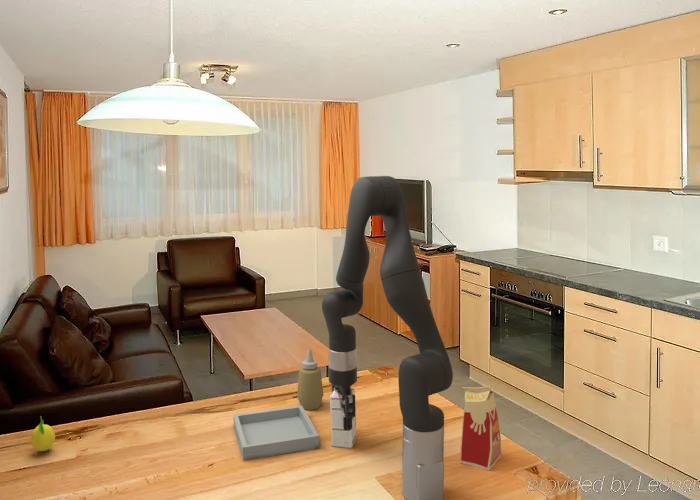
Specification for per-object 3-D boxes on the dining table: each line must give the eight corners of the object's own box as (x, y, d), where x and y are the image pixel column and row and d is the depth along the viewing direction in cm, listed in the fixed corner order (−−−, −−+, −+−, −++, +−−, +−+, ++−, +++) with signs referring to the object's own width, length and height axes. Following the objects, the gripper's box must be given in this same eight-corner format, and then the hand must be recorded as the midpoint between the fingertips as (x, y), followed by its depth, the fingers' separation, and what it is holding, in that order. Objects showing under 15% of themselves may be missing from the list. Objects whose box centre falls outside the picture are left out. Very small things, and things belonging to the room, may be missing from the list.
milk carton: (501, 455, 154) (504, 381, 151) (490, 471, 147) (492, 394, 143) (467, 446, 159) (469, 374, 156) (454, 462, 151) (456, 386, 148)
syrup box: (352, 448, 159) (351, 396, 156) (330, 446, 160) (329, 394, 157) (356, 438, 164) (356, 387, 162) (335, 436, 165) (334, 386, 163)
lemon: (46, 459, 155) (42, 422, 153) (26, 457, 155) (22, 421, 154) (63, 446, 161) (59, 411, 159) (43, 444, 162) (39, 410, 160)
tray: (319, 448, 159) (319, 435, 158) (243, 460, 153) (242, 447, 152) (302, 416, 178) (301, 405, 177) (233, 426, 172) (233, 414, 171)
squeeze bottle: (293, 410, 182) (291, 353, 179) (303, 399, 189) (301, 344, 186) (318, 413, 180) (317, 355, 176) (327, 402, 187) (326, 347, 184)
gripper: (365, 372, 153) (365, 432, 155) (348, 354, 166) (348, 410, 169) (336, 376, 150) (337, 437, 153) (321, 357, 164) (322, 413, 167)
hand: (343, 422), depth 161 cm, fingers closed on syrup box, 7 cm apart
